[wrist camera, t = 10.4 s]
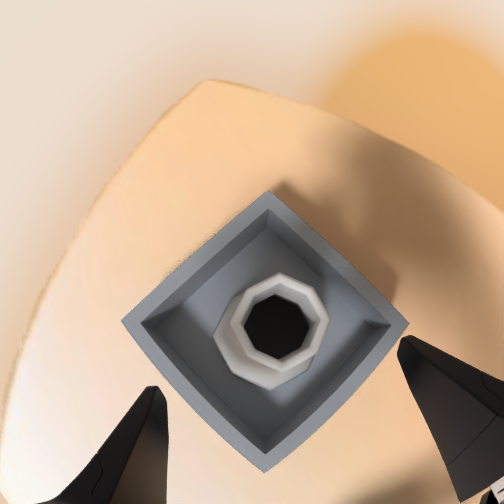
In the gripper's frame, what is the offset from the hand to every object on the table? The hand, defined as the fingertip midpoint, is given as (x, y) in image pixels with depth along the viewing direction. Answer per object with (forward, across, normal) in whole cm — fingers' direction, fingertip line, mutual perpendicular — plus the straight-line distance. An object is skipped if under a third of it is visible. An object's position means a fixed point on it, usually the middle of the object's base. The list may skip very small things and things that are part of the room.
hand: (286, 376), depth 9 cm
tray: (+9, 0, +6) cm, 11 cm away
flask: (+8, 0, +5) cm, 10 cm away
